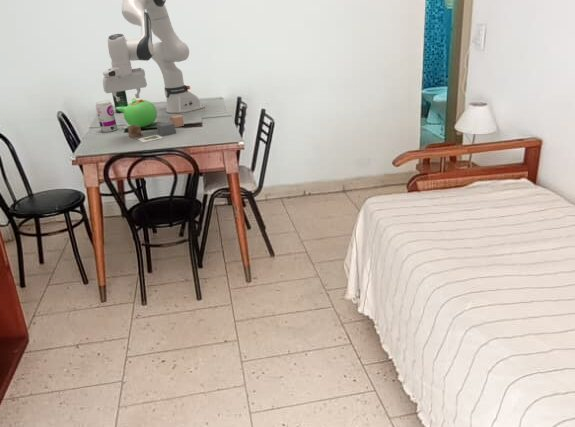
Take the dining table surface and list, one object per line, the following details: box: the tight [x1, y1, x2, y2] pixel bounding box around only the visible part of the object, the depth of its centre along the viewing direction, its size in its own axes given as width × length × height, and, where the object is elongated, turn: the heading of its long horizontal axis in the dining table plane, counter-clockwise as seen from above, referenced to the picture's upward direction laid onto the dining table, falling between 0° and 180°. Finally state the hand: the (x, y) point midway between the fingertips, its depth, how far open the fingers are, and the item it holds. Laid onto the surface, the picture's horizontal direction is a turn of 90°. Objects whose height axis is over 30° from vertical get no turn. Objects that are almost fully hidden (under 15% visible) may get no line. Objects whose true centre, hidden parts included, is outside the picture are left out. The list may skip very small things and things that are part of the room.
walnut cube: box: [127, 125, 143, 139], centre depth 260 cm, size 5×5×5 cm
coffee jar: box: [111, 90, 129, 114], centre depth 316 cm, size 10×8×19 cm
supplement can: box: [95, 100, 118, 133], centre depth 274 cm, size 8×8×15 cm
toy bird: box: [115, 97, 158, 128], centre depth 276 cm, size 18×17×15 cm
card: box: [137, 134, 163, 143], centre depth 254 cm, size 10×8×1 cm
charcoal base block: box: [156, 120, 177, 137], centre depth 261 cm, size 7×7×5 cm
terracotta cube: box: [169, 114, 185, 128], centre depth 274 cm, size 5×5×5 cm
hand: (128, 99), depth 253 cm, fingers open, 8 cm apart
